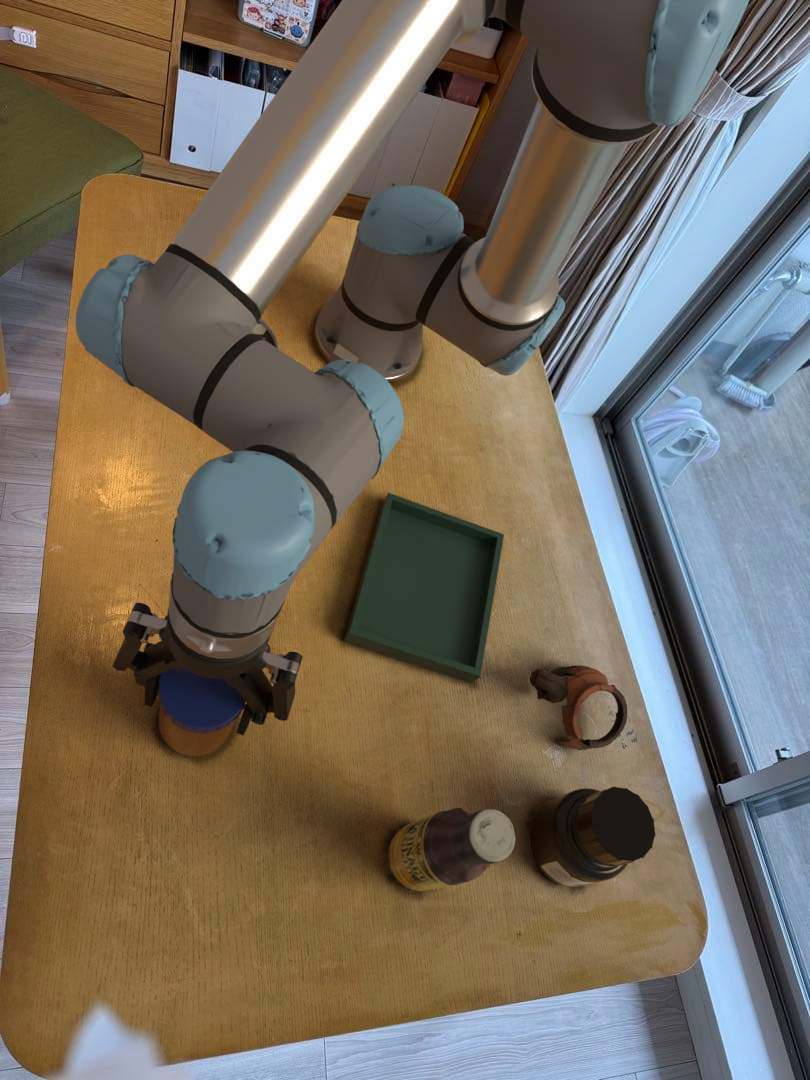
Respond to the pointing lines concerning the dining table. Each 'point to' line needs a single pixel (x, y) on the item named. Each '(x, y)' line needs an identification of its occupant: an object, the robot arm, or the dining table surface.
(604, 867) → the ink bottle
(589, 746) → the pottery mug
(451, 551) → the tray
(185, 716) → the lid
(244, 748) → the dining table surface
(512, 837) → the sauce bottle
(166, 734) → the jar
